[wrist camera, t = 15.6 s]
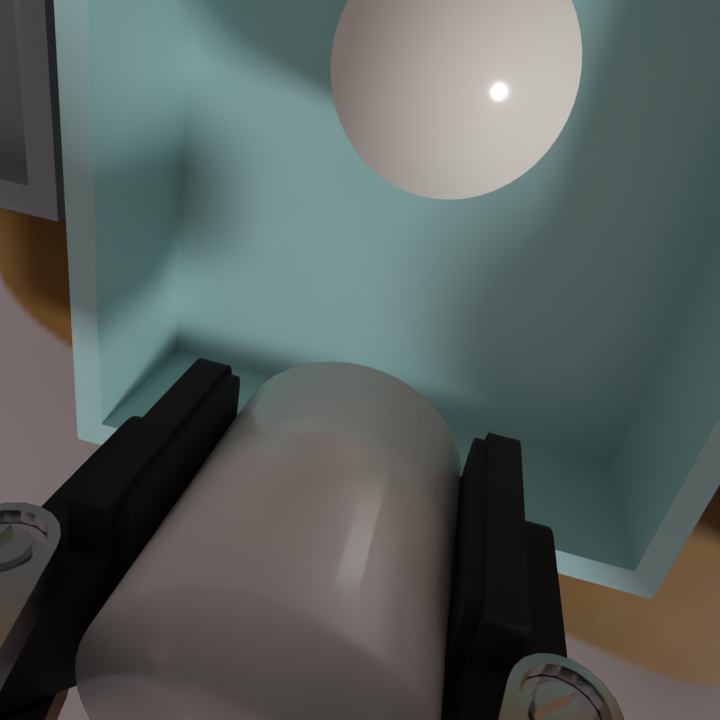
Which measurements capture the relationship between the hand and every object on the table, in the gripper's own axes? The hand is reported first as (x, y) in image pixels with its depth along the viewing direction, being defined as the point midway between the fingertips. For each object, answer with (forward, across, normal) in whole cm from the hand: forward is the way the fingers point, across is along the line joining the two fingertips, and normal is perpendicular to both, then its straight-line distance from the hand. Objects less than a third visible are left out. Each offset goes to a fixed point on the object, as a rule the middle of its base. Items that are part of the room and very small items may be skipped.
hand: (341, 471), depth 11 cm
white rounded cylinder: (0, 0, 0) cm, 0 cm away
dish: (+9, 0, -4) cm, 9 cm away
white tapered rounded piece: (+8, 0, -6) cm, 10 cm away
